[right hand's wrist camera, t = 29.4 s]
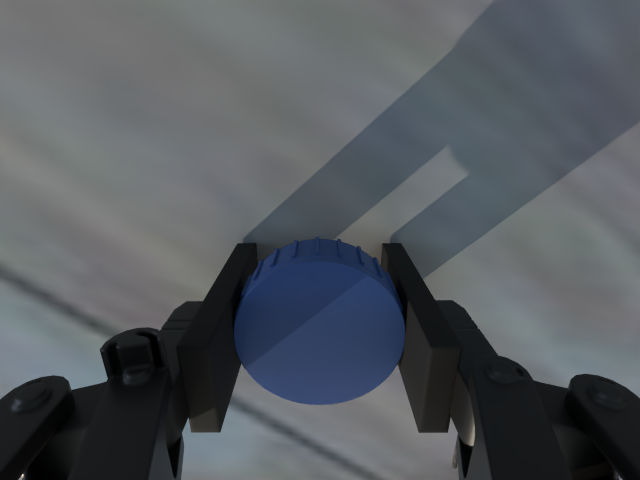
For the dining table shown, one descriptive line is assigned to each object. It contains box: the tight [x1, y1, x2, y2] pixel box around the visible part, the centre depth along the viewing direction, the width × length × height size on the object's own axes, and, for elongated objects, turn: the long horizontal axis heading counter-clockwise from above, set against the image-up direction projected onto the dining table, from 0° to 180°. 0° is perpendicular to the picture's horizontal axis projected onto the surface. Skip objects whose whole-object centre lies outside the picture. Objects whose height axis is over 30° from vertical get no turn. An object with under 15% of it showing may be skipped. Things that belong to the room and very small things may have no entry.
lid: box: [233, 237, 406, 405], centre depth 11 cm, size 5×5×2 cm
